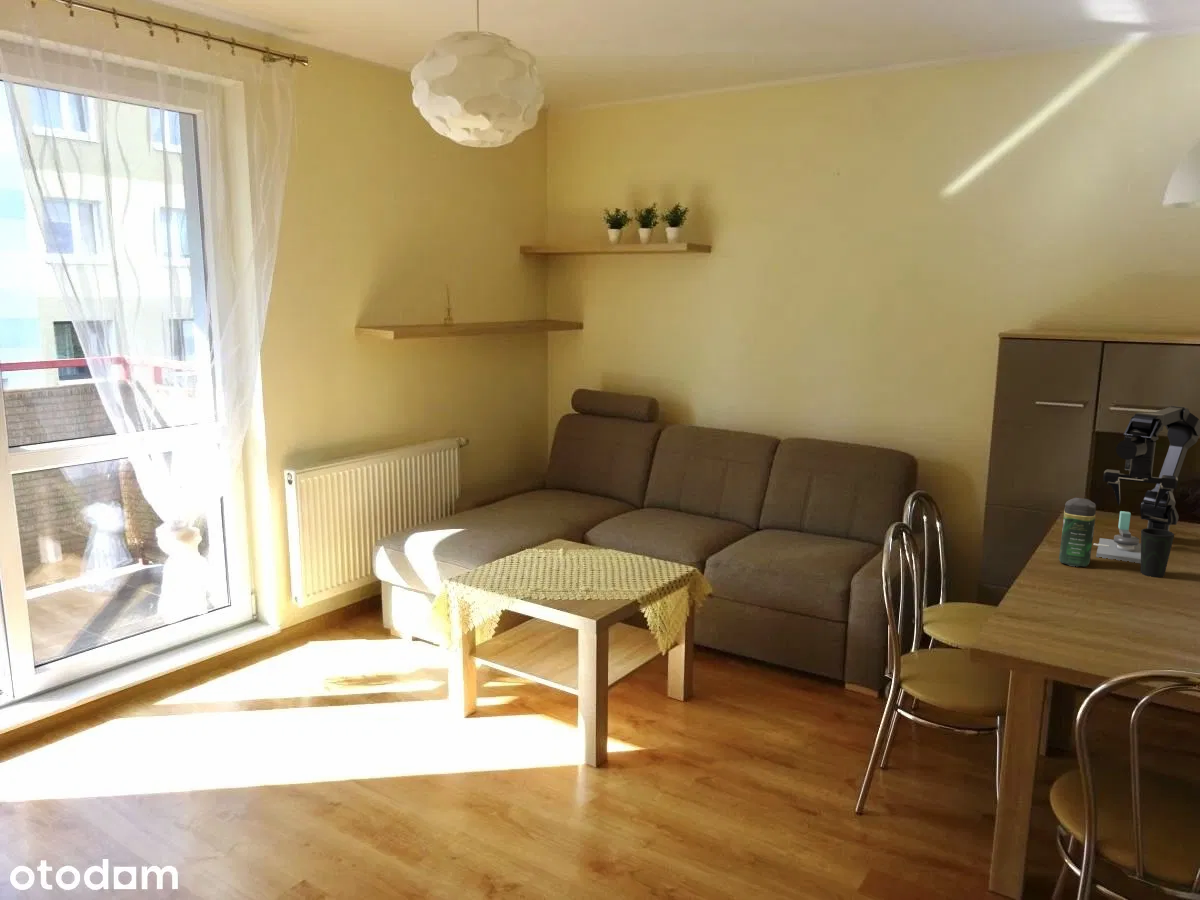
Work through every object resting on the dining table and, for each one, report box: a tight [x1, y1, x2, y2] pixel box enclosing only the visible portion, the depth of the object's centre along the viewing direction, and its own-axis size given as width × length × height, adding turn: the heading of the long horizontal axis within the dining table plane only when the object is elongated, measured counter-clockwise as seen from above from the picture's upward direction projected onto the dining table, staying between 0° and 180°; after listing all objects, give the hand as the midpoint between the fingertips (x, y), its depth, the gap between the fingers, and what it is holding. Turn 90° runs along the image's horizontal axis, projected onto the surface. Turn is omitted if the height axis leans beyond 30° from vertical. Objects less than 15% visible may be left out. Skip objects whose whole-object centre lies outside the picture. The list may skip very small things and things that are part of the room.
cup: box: [1140, 527, 1175, 578], centre depth 240 cm, size 8×8×12 cm
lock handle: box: [1113, 510, 1140, 545], centre depth 260 cm, size 6×10×8 cm, turn 159°
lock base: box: [1092, 537, 1141, 564], centre depth 260 cm, size 18×15×3 cm
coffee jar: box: [1058, 497, 1097, 567], centre depth 249 cm, size 10×8×19 cm
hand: (1136, 507), depth 262 cm, fingers open, 9 cm apart
